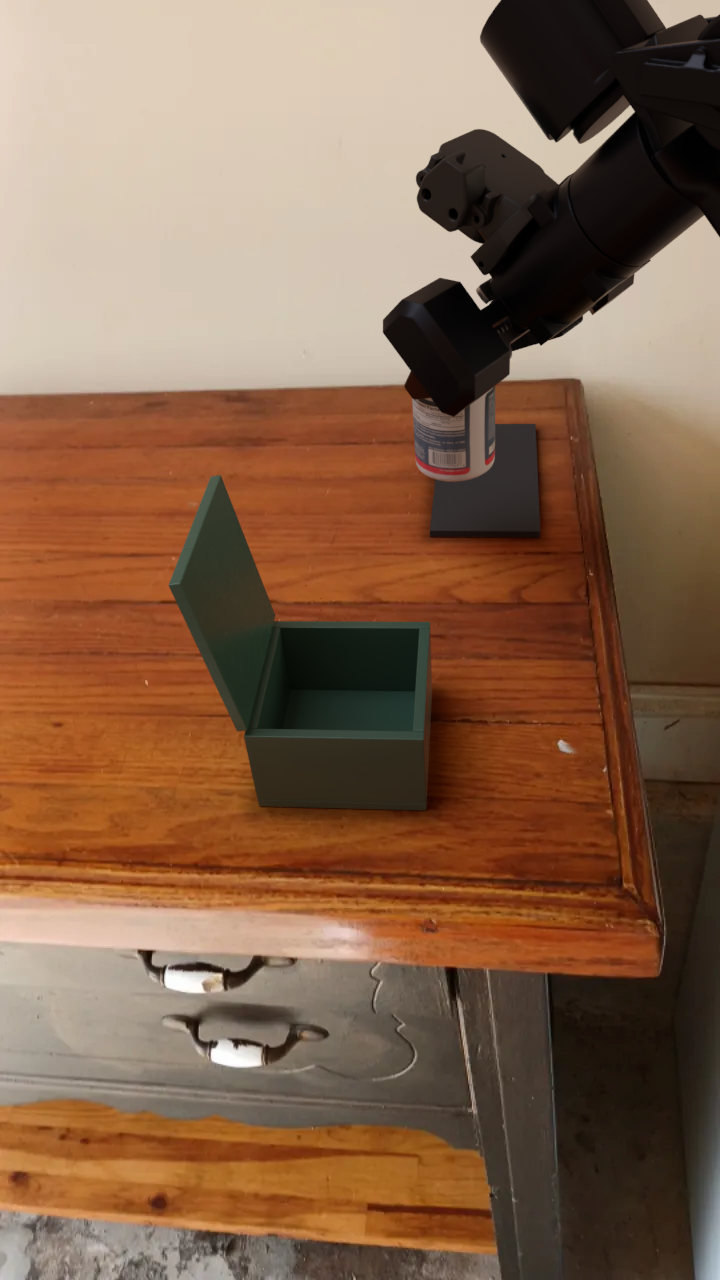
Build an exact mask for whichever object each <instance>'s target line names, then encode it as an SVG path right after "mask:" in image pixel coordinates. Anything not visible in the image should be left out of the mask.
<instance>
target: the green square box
mask: <svg viewBox="0 0 720 1280" xmlns="http://www.w3.org/2000/svg"><path fill="white" fill-rule="evenodd" d="M431 638H432V637H431V622H430V621H359V620H358V621H355V620H353V621H351V620H349V621H348V620H347V621H346V620H345V621H343V620H342V621H337V620H333V621H332V620H329V621H327V620H326V621H325V620H323V621H321V620H320V621H319V620H308V621H307V620H274V623H273V627H272V632H271V636H270V640H269V644H268V648H267V652H266V656H265V660H264V664H263V668H262V673H261V677H260V681H259V685H258V689H257V693H256V697H255V701H254V705H253V710H252V714H251V718H250V722H249V726H248V730H247V731H244V734H243V740H244V744H245V749H246V752H247V758H248V762H249V769H250V771H251V772H250V773H251V777H252V781H253V786H254V791H255V795H256V798H257V805H258V807H278V808H312V809H313V808H314V809H352V810H353V809H354V810H384V811H385V810H387V811H390V810H391V811H423V812H424V811H427V808H428V804H427V803H428V787H429V785H428V784H429V766H430V765H429V763H430V744H431V743H430V742H431V723H432V721H431V720H432V702H433V701H432V699H433V679H432V678H433V676H432V673H433V672H432V644H431V643H432V641H431Z"/></svg>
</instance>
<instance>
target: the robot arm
mask: <svg viewBox="0 0 720 1280" xmlns="http://www.w3.org/2000/svg"><path fill="white" fill-rule="evenodd" d="M479 42H480V44H481V45H482V47H483V48H484V50H485V51H486V52H487V54H488V55H489V57H490V58H491V60H492V61H493V62H494V64H495V65H496V67H497V68H498V70H499V72H501V73H502V76H503V77H504V78H505V80H506V81H507V83H508V84H509V85H510V87H511V88H512V90H513V91H514V93H515V94H516V95H517V97H518V98H519V100H520V101H521V102H522V104H523V105H524V107H525V108H526V110H527V111H528V113H529V114H530V115H531V117H532V118H533V120H534V122H536V124H537V126H538V127H539V128H540V130H541V131H542V133H543V135H544V136H545V137H546V139H547V140H548V141H554V143H558V142H560V141H561V140H562V139H563V138H565V137H566V136H567V135H569V134H570V133H571V132H572V136H573V137H574V139H575V140H576V141H577V143H578V144H579V145H582V144H584V143H586V142H589V141H590V140H591V139H592V138H594V137H596V136H597V135H598V134H599V133H601V132H602V131H603V130H604V129H606V128H607V127H608V126H609V125H611V124H612V123H613V122H614V121H615V120H616V119H617V118H619V117H620V116H621V115H622V114H623V113H624V112H625V111H626V110H627V109H628V108H629V107H631V109H632V111H634V112H633V113H632V114H631V115H630V116H629V117H628V118H627V119H626V120H625V121H623V123H622V124H621V125H620V126H619V127H618V128H617V129H616V130H615V131H614V132H612V134H611V135H610V136H609V137H608V138H607V139H606V140H605V141H603V143H602V144H601V145H600V146H599V147H597V149H596V150H595V151H594V152H593V153H592V154H591V155H590V156H589V157H588V158H587V159H586V160H585V161H584V162H583V163H582V164H581V165H580V166H579V167H578V168H577V169H576V170H575V171H574V172H572V173H571V174H569V175H568V176H566V177H565V178H564V179H563V180H561V182H560V183H558V182H557V181H555V180H554V179H553V178H552V177H551V176H549V175H548V174H547V173H546V172H545V170H544V169H543V168H542V167H541V166H540V165H539V164H538V163H537V162H535V161H534V160H532V159H531V158H530V157H529V156H527V155H525V154H524V153H523V152H522V151H520V150H518V148H516V147H514V146H513V145H512V144H510V143H509V142H508V141H506V140H504V139H503V138H502V137H501V136H499V135H497V134H496V133H494V132H492V131H490V130H487V129H484V128H476V129H473V130H470V131H468V132H466V133H464V134H461V135H458V136H457V137H454V138H452V139H450V140H448V141H445V142H444V143H442V144H440V146H439V149H438V152H436V153H433V154H431V155H430V158H429V161H428V164H427V165H426V166H425V167H424V168H423V169H421V170H419V171H418V172H417V173H416V174H415V181H416V185H417V187H418V188H419V189H418V191H417V195H416V202H417V206H418V209H419V210H420V212H421V213H422V214H424V216H427V217H428V218H429V219H431V220H432V221H433V222H434V223H436V224H437V225H439V226H440V227H442V228H443V229H444V230H445V231H447V232H449V233H452V232H456V231H459V232H460V233H461V234H463V235H465V236H466V237H467V238H469V239H470V240H471V241H473V242H475V243H478V244H481V245H479V248H477V249H476V250H475V251H474V252H473V253H472V254H471V255H470V258H471V260H472V262H473V263H474V265H475V266H476V267H477V269H478V270H479V272H481V274H482V275H483V276H487V275H489V276H490V277H491V278H489V279H487V280H486V281H484V282H482V283H481V284H479V286H477V288H476V289H475V292H476V295H478V297H479V298H480V300H481V301H482V302H483V303H484V304H486V306H484V307H483V308H480V307H479V306H478V304H477V303H476V301H475V300H474V298H473V297H472V296H471V295H470V292H468V290H467V289H466V287H465V286H464V285H463V283H462V282H461V281H457V280H453V279H448V278H443V277H438V278H437V279H435V280H433V281H431V282H429V283H428V284H426V285H425V286H423V287H421V288H419V289H418V290H416V291H414V292H412V293H411V294H409V295H406V297H404V298H402V299H401V300H400V301H399V302H398V303H397V304H396V305H395V306H394V307H393V308H392V310H391V311H390V312H389V313H388V314H386V316H385V317H384V318H383V319H382V334H383V335H384V337H385V338H386V339H387V341H388V342H389V343H390V345H391V346H392V347H393V349H394V350H395V352H396V353H397V354H398V356H399V357H400V358H401V360H402V361H403V362H404V364H405V365H406V366H407V368H408V369H409V370H410V372H409V374H408V375H407V378H406V380H405V382H404V385H403V386H404V389H405V391H406V392H407V393H408V395H409V396H410V397H411V399H412V398H413V399H414V400H417V399H426V398H431V399H432V400H433V402H434V403H435V404H436V406H437V407H438V409H439V410H440V411H441V413H444V414H447V415H450V416H453V417H454V416H456V415H457V414H458V413H460V412H461V411H462V410H464V409H465V408H467V407H468V406H469V405H471V404H472V403H473V402H475V401H476V400H477V399H479V398H480V397H481V396H483V395H484V394H485V393H487V392H488V391H489V390H491V389H492V388H493V387H494V386H495V387H496V386H497V385H498V384H500V383H501V382H502V381H504V380H505V379H506V378H507V377H508V376H510V370H511V369H510V368H511V359H512V356H513V352H516V351H519V350H522V349H525V348H528V347H532V346H535V345H539V346H541V347H542V346H543V345H544V344H546V343H547V342H549V341H552V340H556V339H559V338H562V337H563V336H564V335H566V334H567V333H569V332H570V331H571V330H573V329H574V328H575V327H577V326H578V325H580V324H581V323H582V322H583V321H584V315H586V314H587V313H588V312H589V313H590V315H592V316H593V315H595V314H596V313H597V312H599V311H600V310H602V309H603V308H605V307H606V306H607V305H609V304H610V303H611V302H613V301H614V300H615V299H617V297H619V296H620V295H621V294H622V293H624V292H625V291H626V290H628V289H629V288H630V287H632V286H633V285H634V281H635V274H636V273H637V272H639V271H640V270H641V269H642V268H644V267H645V266H646V265H647V264H649V263H650V262H651V261H652V260H651V259H653V258H654V257H655V256H656V255H657V254H658V253H660V252H661V251H663V249H665V248H666V247H667V246H669V245H670V244H671V243H672V242H673V241H675V240H676V239H678V237H679V236H681V235H682V234H683V233H685V232H686V231H687V230H688V229H689V228H690V227H692V226H693V225H694V224H695V223H697V222H698V221H699V220H700V219H702V218H703V217H705V219H706V220H707V221H708V223H709V225H710V226H711V227H712V229H713V230H714V232H715V233H716V235H717V236H718V237H719V238H720V13H719V14H718V15H717V16H710V17H705V16H703V15H702V14H698V15H695V16H692V17H691V18H688V19H686V20H683V21H680V22H678V23H676V24H674V25H672V26H669V27H666V25H665V24H664V22H663V21H662V20H661V18H660V17H659V15H658V13H657V12H656V10H655V9H654V8H653V6H652V4H650V2H649V0H500V1H499V2H498V3H497V4H496V6H495V7H494V9H493V10H492V11H491V13H490V14H489V16H488V18H487V19H486V21H485V23H484V25H483V27H482V29H481V32H480V35H479Z"/></svg>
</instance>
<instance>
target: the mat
mask: <svg viewBox="0 0 720 1280" xmlns="http://www.w3.org/2000/svg"><path fill="white" fill-rule="evenodd" d="M537 448H538V447H537V425H536V423H495V459H494V463H493V465H492V467H491V468H490V469H489V470H488V471H487V472H485V473H484V474H482V475H480V476H478V477H476V478H473V479H470V480H465V481H456V482H448V481H440V480H436V479H434V486H433V497H432V506H431V517H430V523H429V524H430V525H429V537H431V538H440V537H441V538H510V539H511V538H515V539H516V538H520V539H521V538H522V539H524V538H525V539H526V538H527V539H529V538H530V539H531V538H532V539H539V538H541V516H540V514H541V513H540V493H539V491H540V490H539V474H538V473H539V471H538V469H539V468H538V449H537Z"/></svg>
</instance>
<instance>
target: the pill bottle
mask: <svg viewBox="0 0 720 1280" xmlns="http://www.w3.org/2000/svg"><path fill="white" fill-rule="evenodd" d="M411 402H412V403H411V404H412V420H413V438H414V440H413V441H414V442H413V443H414V458H415V464H416V467H417V469H418V470H419V471H420V472H421V473H422V474H423V475H424V476H426V477H428V478H431V479H433V480H435V479H436V480H440V481H448V482H456V481H465V480H470V479H473V478H476V477H478V476H480V475H482V474H484V473H485V472H487V471H488V470H489V469H490V468H491V467H492V465H493V463H494V459H495V424H496V386H494V387H493V388H492V389H491V390H489V391H488V392H487V393H485V394H484V395H483V396H481V397H480V398H479V399H477V400H476V401H475V402H473V403H472V404H471V405H469V406H468V407H467V408H465V409H464V410H462V411H461V412H460V413H458V414H457V415H456V416H454V417H453V416H450V415H447V414H444V413H441V411H440V410H439V409H438V407H437V406H436V404H435V403H434V402H433V400H432V399H431V398H426V399H417V400H414V399H413V398H412V397H411Z"/></svg>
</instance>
